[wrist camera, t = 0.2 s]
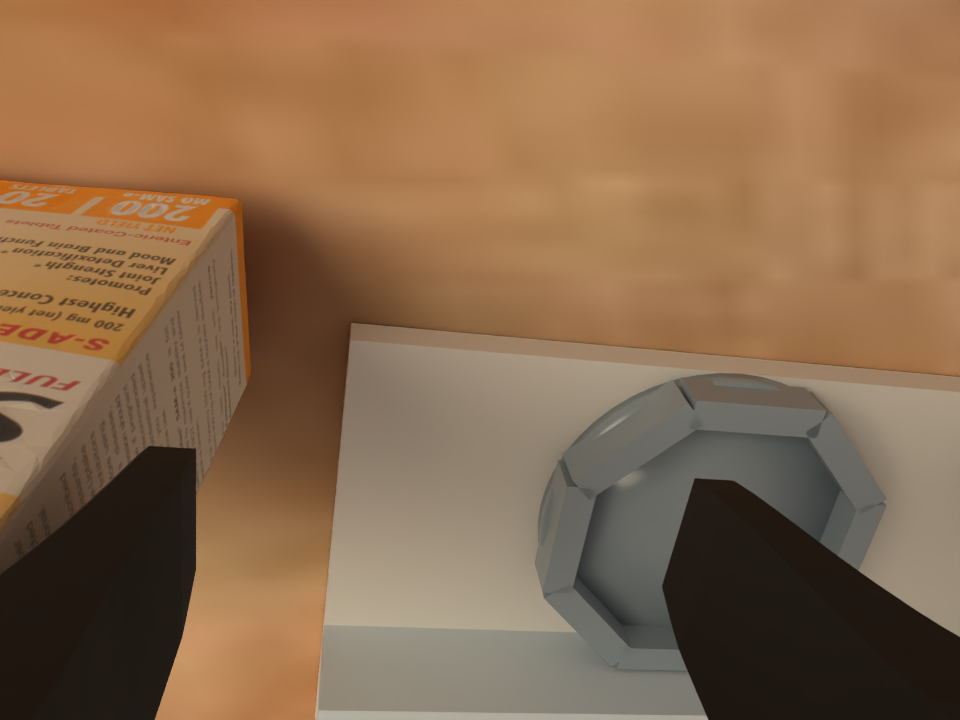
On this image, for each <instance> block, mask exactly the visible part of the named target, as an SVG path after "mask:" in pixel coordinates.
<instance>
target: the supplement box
mask: <svg viewBox="0 0 960 720" xmlns="http://www.w3.org/2000/svg"><path fill="white" fill-rule="evenodd" d="M242 209H243V204H242V202H241V201H240V200H238V199H231V198H221V197H215V196H201V195H187V194H179V193H162V192H150V191H137V190H124V189H109V188H93V187H75V186H69V185H48V184H38V183H25V182H14V181H6V180H0V574H1V573H3V572H4V571H5V570H6V569H8V568H9V567H10V566H11V565H13V564H14V563H15V562H17V561H18V560H19V559H20V558H22V557H23V556H24V555H25V554H27V553H28V552H29V551H31V550H32V549H33V548H34V547H36V546H37V545H38V544H40V543H41V542H42V541H43V540H44V539H46V538H47V537H48V536H49V535H50V534H52V533H53V532H54V531H55V530H56V529H57V528H59V527H60V526H61V525H62V524H63V523H64V522H65V521H67V520H68V519H69V518H70V517H71V516H72V515H73V514H75V513H76V512H77V511H78V510H79V509H80V508H81V507H83V506H84V505H85V504H86V503H87V502H88V501H89V500H90V499H92V498H93V497H94V496H95V495H96V494H97V493H98V492H99V491H100V490H101V489H102V488H103V487H105V486H106V485H107V484H108V483H109V482H110V481H111V480H112V479H113V478H114V477H115V476H116V475H117V474H118V473H119V472H120V471H121V470H122V469H123V468H125V467H126V466H127V465H128V464H129V463H130V462H131V461H132V460H133V459H134V458H135V457H136V456H137V455H138V454H139V453H140V452H142V451H143V450H144V449H146V448H147V447H148V446H160V447H177V448H194V449H196V494H197V492H198V490H199V488H200V486H201V483H202V481H203V479H204V477H205V474H206V472H207V471H208V469H209V466H210V464H211V462H212V459H213V457H214V455H215V453H216V451H217V449H218V447H219V445H220V442H221V440H222V438H223V436H224V433H225V431H226V429H227V427H228V425H229V423H230V421H231V418H232V416H233V414H234V412H235V409H236V407H237V405H238V403H239V400H240V398H241V397H242V394H243V392H244V390H245V388H246V386H247V383H248V380H249V378H250V375H251V362H250V355H251V354H250V340H249V325H248V309H247V293H246V273H245V261H244V235H243V219H242Z"/></svg>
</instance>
